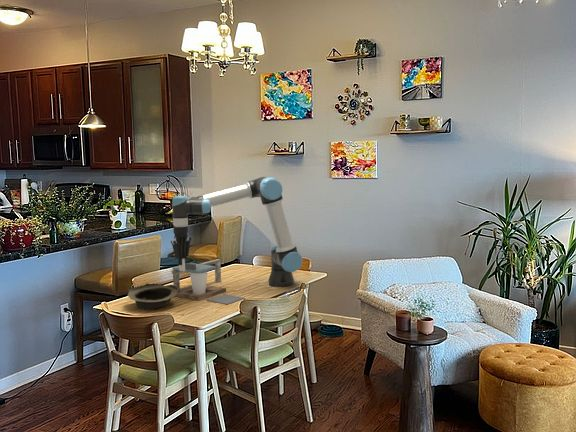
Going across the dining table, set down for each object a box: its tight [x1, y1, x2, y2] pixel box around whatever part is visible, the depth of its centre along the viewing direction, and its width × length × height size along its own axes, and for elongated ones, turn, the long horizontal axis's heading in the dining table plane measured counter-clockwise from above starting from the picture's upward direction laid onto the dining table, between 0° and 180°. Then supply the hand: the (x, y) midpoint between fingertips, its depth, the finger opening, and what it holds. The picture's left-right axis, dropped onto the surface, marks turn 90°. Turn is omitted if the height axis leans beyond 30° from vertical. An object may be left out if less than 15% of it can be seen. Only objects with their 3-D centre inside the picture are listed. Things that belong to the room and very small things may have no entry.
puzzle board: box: [171, 258, 227, 302], centre depth 307 cm, size 22×39×14 cm, turn 146°
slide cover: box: [172, 262, 216, 274], centre depth 297 cm, size 18×14×4 cm
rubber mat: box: [206, 293, 246, 305], centre depth 287 cm, size 14×14×1 cm
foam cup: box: [189, 271, 208, 295], centre depth 297 cm, size 10×9×13 cm
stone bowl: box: [127, 283, 178, 311], centre depth 277 cm, size 25×25×9 cm
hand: (182, 270), depth 285 cm, fingers closed
